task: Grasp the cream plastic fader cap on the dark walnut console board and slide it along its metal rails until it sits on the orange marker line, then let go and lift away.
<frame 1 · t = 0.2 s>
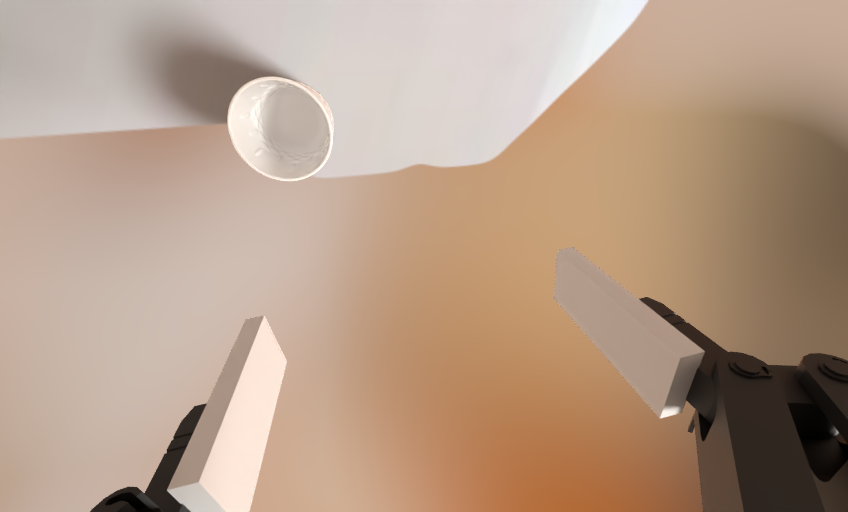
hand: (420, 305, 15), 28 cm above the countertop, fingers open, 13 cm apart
white cup: (300, 118, 35), on the countertop
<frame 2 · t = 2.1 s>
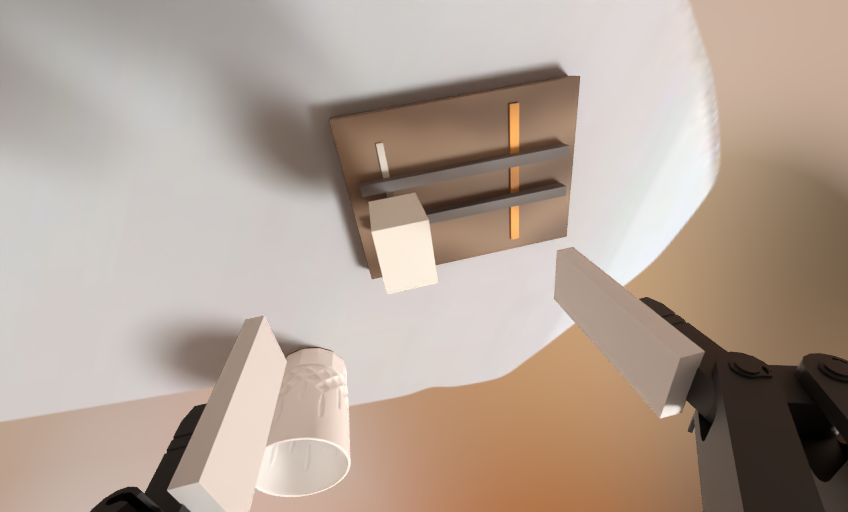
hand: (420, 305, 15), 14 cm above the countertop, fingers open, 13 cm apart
fader: (398, 227, 22), point 6 cm above the countertop, slide at 0.0 cm
console board: (460, 182, 27), on the countertop
white cup: (313, 369, 35), on the countertop
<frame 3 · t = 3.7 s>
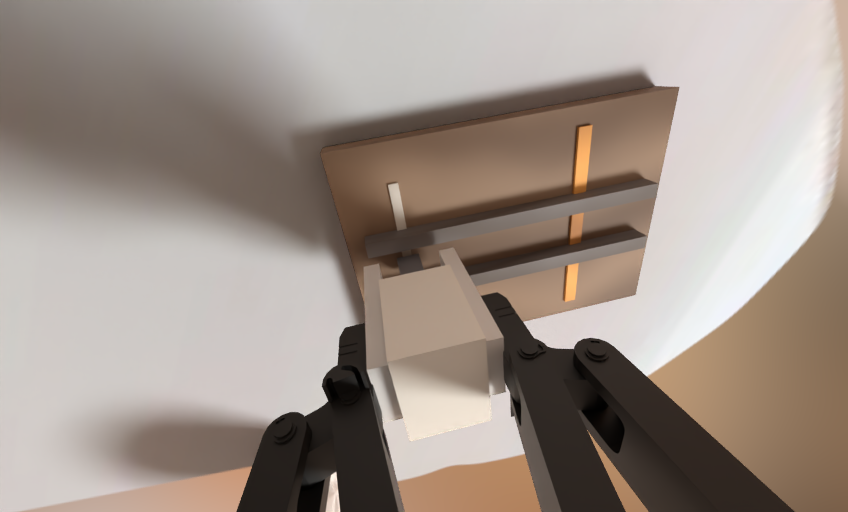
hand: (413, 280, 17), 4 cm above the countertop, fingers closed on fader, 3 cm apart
fader: (422, 313, 14), point 6 cm above the countertop, slide at 0.0 cm, touching gripper
console board: (500, 228, 20), on the countertop
white cup: (304, 454, 28), on the countertop
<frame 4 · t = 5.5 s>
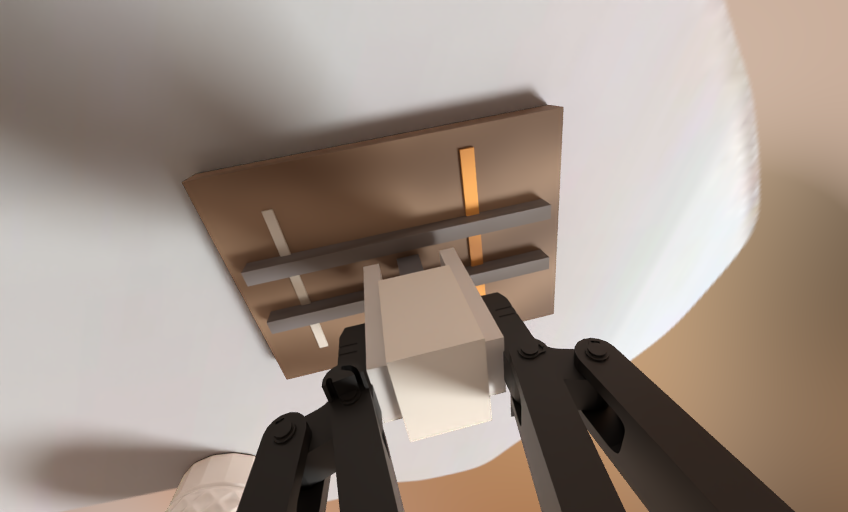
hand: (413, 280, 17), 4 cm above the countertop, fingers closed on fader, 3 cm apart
fader: (422, 313, 14), point 6 cm above the countertop, slide at 6.1 cm, touching gripper
console board: (403, 249, 20), on the countertop
white cup: (232, 474, 27), on the countertop
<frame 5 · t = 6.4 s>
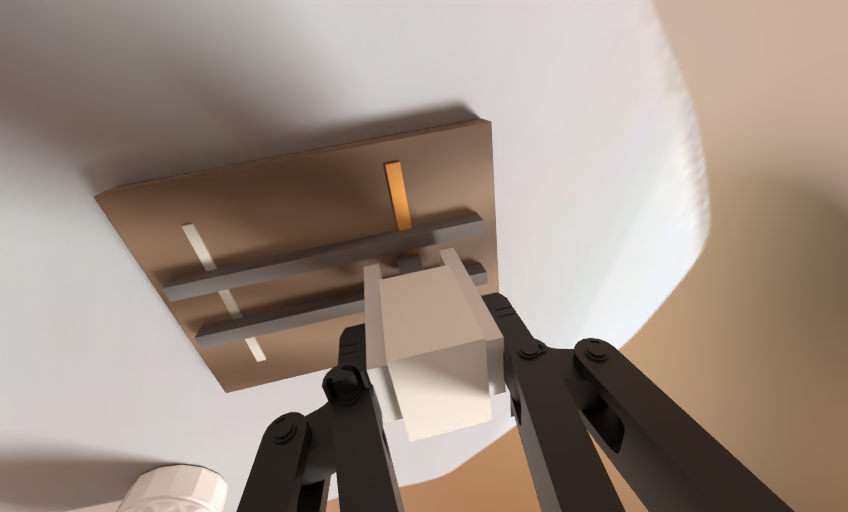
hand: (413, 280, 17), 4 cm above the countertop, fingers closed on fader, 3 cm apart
fader: (422, 313, 14), point 6 cm above the countertop, slide at 9.8 cm, touching gripper
console board: (341, 262, 20), on the countertop
white cup: (183, 486, 27), on the countertop
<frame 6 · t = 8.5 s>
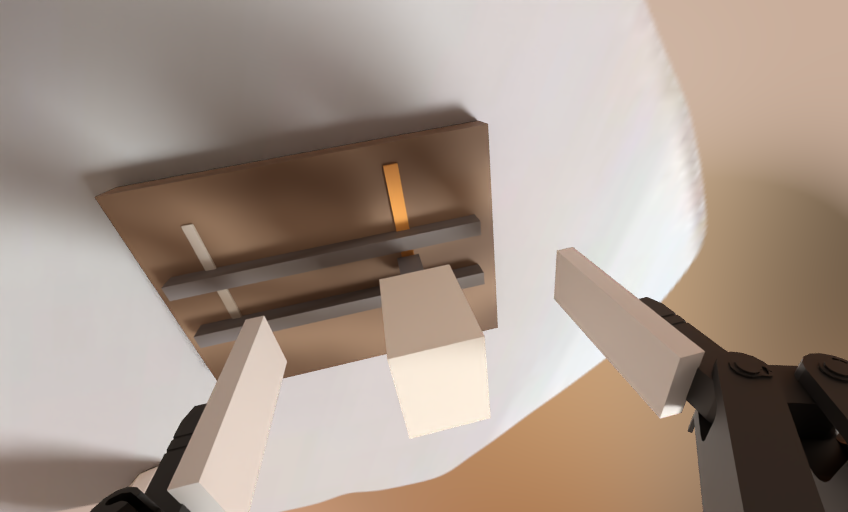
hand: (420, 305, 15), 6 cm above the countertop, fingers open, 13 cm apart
fader: (422, 312, 15), point 6 cm above the countertop, slide at 10.0 cm
console board: (340, 263, 20), on the countertop
white cup: (182, 485, 27), on the countertop
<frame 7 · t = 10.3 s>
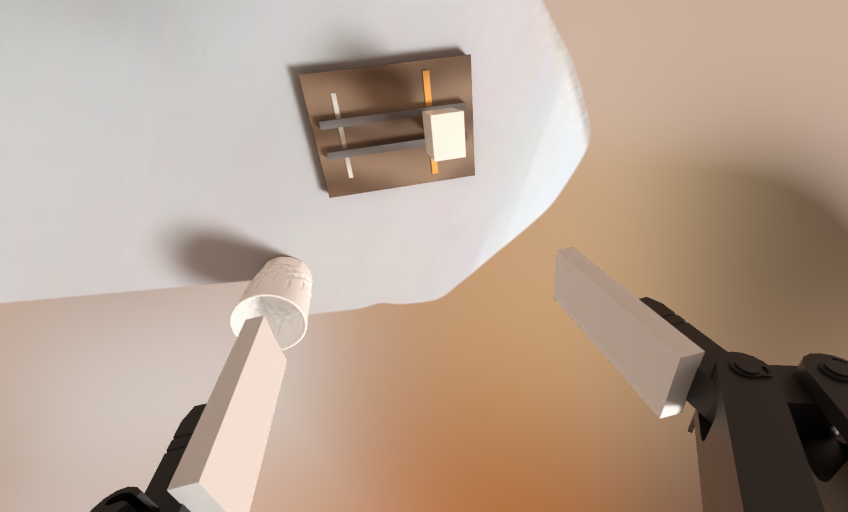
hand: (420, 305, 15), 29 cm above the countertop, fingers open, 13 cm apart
fader: (439, 130, 34), point 6 cm above the countertop, slide at 10.0 cm
console board: (394, 128, 39), on the countertop
white cup: (287, 276, 45), on the countertop
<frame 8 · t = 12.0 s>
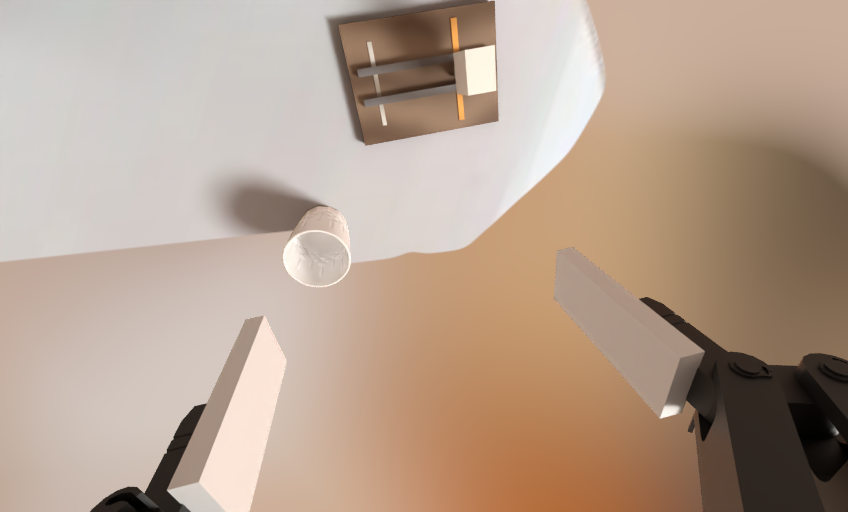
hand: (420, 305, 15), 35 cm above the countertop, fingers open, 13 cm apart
fader: (468, 71, 37), point 6 cm above the countertop, slide at 10.0 cm
console board: (423, 77, 42), on the countertop
white cup: (324, 226, 49), on the countertop
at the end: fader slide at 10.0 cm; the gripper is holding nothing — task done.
